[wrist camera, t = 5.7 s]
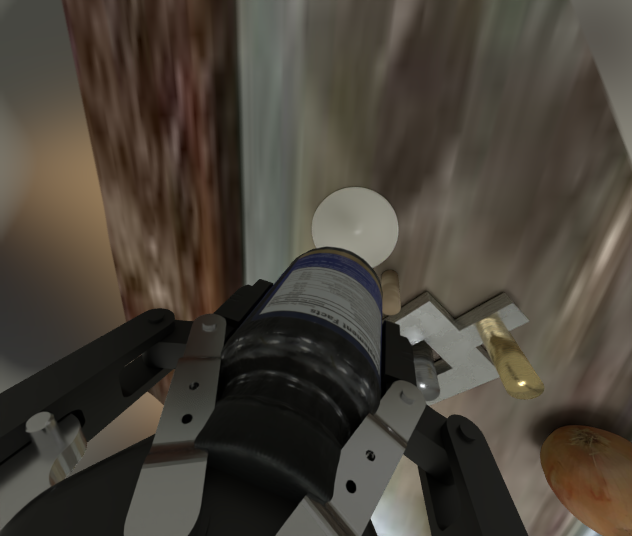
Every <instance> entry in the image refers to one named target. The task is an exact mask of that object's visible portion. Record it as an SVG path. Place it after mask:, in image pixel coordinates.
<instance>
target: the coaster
mask: <svg viewBox="0 0 632 536" xmlns="http://www.w3.org/2000/svg"><path fill="white" fill-rule="evenodd" d="M398 229H399V228H398V220H397V216H396V214H395V211H394V209H393V207H392V206H391V204H390V203H389V202H388V201H387V200H386V199H385V198H384V197H383V196H382V195H380V194H379V193H377V192H375V191H373V190H371V189H368V188H364V187H347V188H343V189H340V190H337V191H335V192H334V193H332V194H330V195H329V196H328V197H327V198H325V199H324V200H323V201H322V203H321V204H320V205H319V206H318V208H317V210H316V212H315V214H314V217H313V221H312V237H313V241H314V244H315V246H316V248H320V247H326V246H328V247H337V248H342V249H346V250H349V251H351V252H353V253H355V254H357V255H358V256H360V257H361V258H363V259H364V260H365V261H366V262H367V263H368V264H369V265H370V266H371V267H372V268H373V267H375V266H377V265H379V264H381V263H382V262H383V261H384V260H386V259H387V258H388V256H389V255H390V254H391V253H392V251H393V249H394V247H395V245H396V242H397V239H398Z"/></svg>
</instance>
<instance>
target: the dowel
mask: <svg viewBox="0 0 632 536" xmlns="http://www.w3.org/2000/svg"><path fill="white" fill-rule="evenodd" d="M381 287H382V292H383V299H382V312H383V313H384V314H386V315H396V314H397V313H399V311H400V309H401V303H400V291H399V279H398V274H397V273H396V272H395V271H393V270H387V271H385V272H384V273H383V274H382V278H381Z"/></svg>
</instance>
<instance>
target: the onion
mask: <svg viewBox="0 0 632 536" xmlns="http://www.w3.org/2000/svg"><path fill="white" fill-rule="evenodd" d="M540 459H541V465H542V468H543V471H544V474H545V477H546V480H547V482H548V484H549V485H550V487H551V489H552V490H553V492H554V493H555V494H556V496H557V497H558V499H559V500H560V501H561V502H562V504H563V505H564V506H565V507H566V508H567V509H568V510H569V511H570V512H571V513H572V514H573V515H574V516H575V517H576V518H577V519H579V520H580V521H581V522H582V523H584V524H585V525H586V526H588V527H589V528H591V529H592V530H594V531H595V532H597V533H599V534H601V535H603V536H632V443H631V442H629V441H628V440H626V439H625V438H623V437H621V436H619V435H616V434H614V433H611V432H608V431H605V430H602V429H598V428H594V427H590V426H583V425H568V426H563V427H560V428H558V429H556V430H555V431H554V432H552V433H551V434H550V435H549V436H548V437H547V439H546V440H545V441H544V443H543V445H542V448H541V452H540Z"/></svg>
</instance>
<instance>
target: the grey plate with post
mask: <svg viewBox="0 0 632 536" xmlns="http://www.w3.org/2000/svg"><path fill="white" fill-rule="evenodd" d="M384 320H387V321H390V322H393V323H396V324H399V325H400V335H401V336H404V337H407V338H408V340H409V342H410V343H411V345H414V344H416V343H418V342H420V341H421V340H424V341H425V342H426V343H427V344H428V345H429V346H430V347H431V348H432V349H434V350H435V351H436V352H437V353H438V354H439V355H440V356H441V357H442V358H443V359H441V360H439V361H437V362H435V363H434V364H435V369H436V373H437V378H438V382H439V387H440V395H439V396H438V397H437V398H436V399H435V400H432V401H426V404H427V405H428V406H429V405H432V404H434V403H437V402H439V401H442V400H444V399H447V398H449V397H451V396H454V395H456V394H459V393H461V392H464V391H466V390H469V389H471V388H474V387H476V386H479V385H481V384H484V383H486V382H489V381H491V380H493V379H496V378H498V377H500V378H501V380H502V383H503V385H504V387H505V389H506V391H507V393H508V394H509V395H511V396H512V397H514V398H517V399H524V400H525V399H533V398H536V397H538V396H539V395H541V394H542V393H543V391H544V384H543V383H542V381H541V380H540V378H539V377H538V375H537V374H536V372H535V371H534V369H533V367H532V366H531V364H530V363H529V361H528V360H527V358H526V357H525V355H524V354H523V352H522V351H521V349H520V348H519V346H518V344H517V343H516V341H515V340H514V338H513V337H512V335H511V334H510V332H509V331H511V330H513V329H515V328H517V327H519V326H521V325H523V324H525V323H527V322H529V320H528V318H527V317H526V316H525V315H524V313H523V312H522V311H521V310H520V309H519V308H518V306H517V305H516V304H515V303H514V302H513V301H512V300H511V299H510V298H509V297H508V296H507V295H506V294H505V293H502V294H501V295H499V296H497V297H495V298H493V299H492V300H490V301H488V302H486V303H484V304H483V305H481V306H479V307H477V308H475V309H474V310H472V311H470V312H468V313H466V314H465V315H463V316H461V317H459V318H457V319H456V320H455V319H454V318H453V317H452V316H451V315H450V314H449V313H448V312H447V311H446V310H445V309H444V308H443V307H442V306H441V305H440V304H439V303H438V302H437V301H436V300H435V299H434V298H433V297H432V296H431V295H430V294H429V293H428V292H425V293H424V294H422V295H420V296H419V297H417V298H416V299H414V300H413V301H411V302H410V303H408V304H407V305H405V306H404V307H402V308H401V309H400V311H399V313H397V314H396V315H390V316H388V317H387V318H385V319H384ZM384 320H382V324H383V322H384ZM483 343H484V345H485V347H486V349H487V352H488V353H487V352H486V351H485V350H484V349H483V348H482V347H481V346H480V345H481V344H483Z"/></svg>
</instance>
